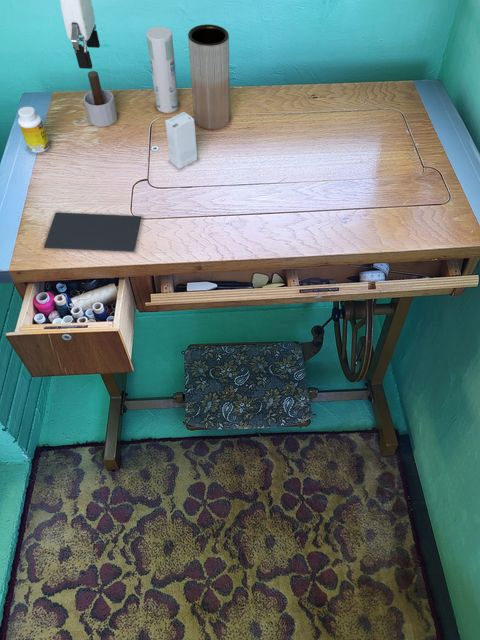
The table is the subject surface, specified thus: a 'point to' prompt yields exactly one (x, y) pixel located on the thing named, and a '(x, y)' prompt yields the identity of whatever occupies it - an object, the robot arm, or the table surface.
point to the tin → (101, 109)
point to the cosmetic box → (181, 139)
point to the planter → (210, 75)
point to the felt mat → (93, 232)
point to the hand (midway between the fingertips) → (90, 57)
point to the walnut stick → (96, 88)
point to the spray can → (163, 68)
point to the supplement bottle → (33, 130)
